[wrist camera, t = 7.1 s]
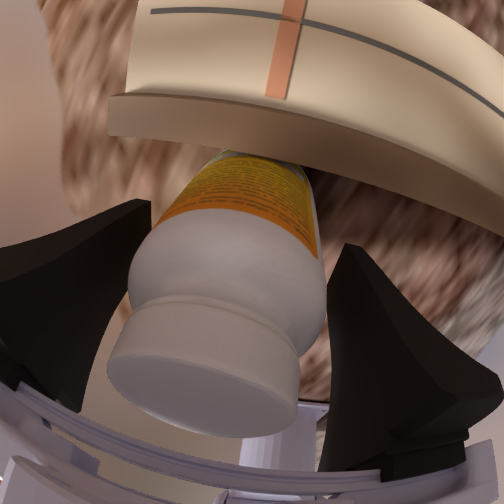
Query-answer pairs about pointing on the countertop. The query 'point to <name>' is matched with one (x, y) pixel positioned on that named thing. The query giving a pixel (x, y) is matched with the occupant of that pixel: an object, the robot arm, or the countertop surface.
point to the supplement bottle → (225, 301)
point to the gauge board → (326, 93)
